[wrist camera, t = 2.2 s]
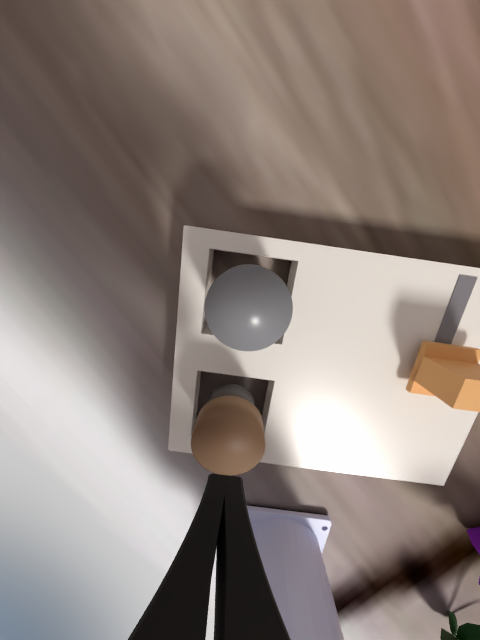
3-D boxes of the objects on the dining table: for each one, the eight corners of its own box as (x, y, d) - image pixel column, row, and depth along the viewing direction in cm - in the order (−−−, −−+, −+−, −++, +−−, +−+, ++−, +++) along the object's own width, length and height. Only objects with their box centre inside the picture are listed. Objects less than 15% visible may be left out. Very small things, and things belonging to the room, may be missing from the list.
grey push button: (274, 333, 14) (283, 356, 11) (211, 324, 14) (200, 345, 11) (286, 268, 13) (301, 271, 10) (218, 258, 13) (209, 258, 10)
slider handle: (456, 395, 14) (509, 431, 11) (405, 389, 14) (446, 422, 11) (476, 347, 13) (540, 372, 11) (423, 340, 13) (472, 363, 10)
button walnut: (255, 432, 16) (258, 479, 13) (199, 425, 16) (187, 470, 13) (265, 382, 15) (271, 418, 12) (205, 374, 15) (194, 408, 12)
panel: (422, 462, 19) (444, 486, 17) (175, 430, 18) (167, 450, 16) (502, 274, 15) (542, 277, 13) (191, 229, 14) (183, 225, 12)
